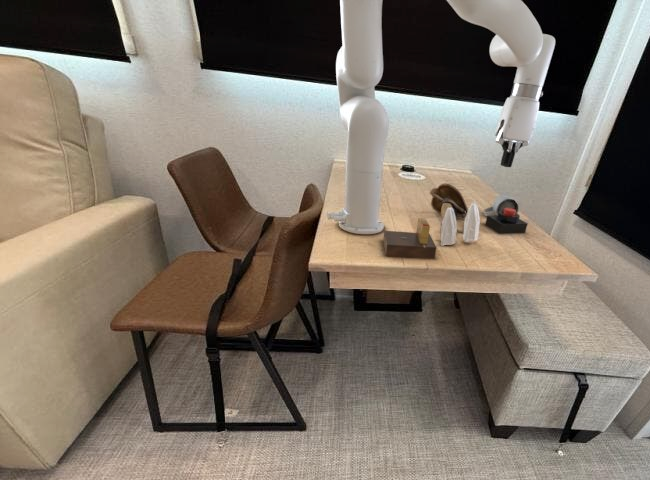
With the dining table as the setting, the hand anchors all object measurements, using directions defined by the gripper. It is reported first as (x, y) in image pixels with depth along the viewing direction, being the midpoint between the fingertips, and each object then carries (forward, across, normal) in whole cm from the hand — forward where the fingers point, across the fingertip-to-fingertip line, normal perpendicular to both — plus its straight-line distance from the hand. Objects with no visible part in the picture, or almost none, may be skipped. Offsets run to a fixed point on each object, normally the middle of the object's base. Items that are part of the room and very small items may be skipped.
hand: (505, 166), depth 97 cm
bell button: (+14, -4, +3) cm, 15 cm away
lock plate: (+19, +34, +15) cm, 42 cm away
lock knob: (+16, +32, +16) cm, 39 cm away
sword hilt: (+19, +14, -2) cm, 24 cm away
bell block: (+18, -4, +3) cm, 19 cm away
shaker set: (+19, +18, +12) cm, 29 cm away
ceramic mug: (+19, -10, -8) cm, 22 cm away
